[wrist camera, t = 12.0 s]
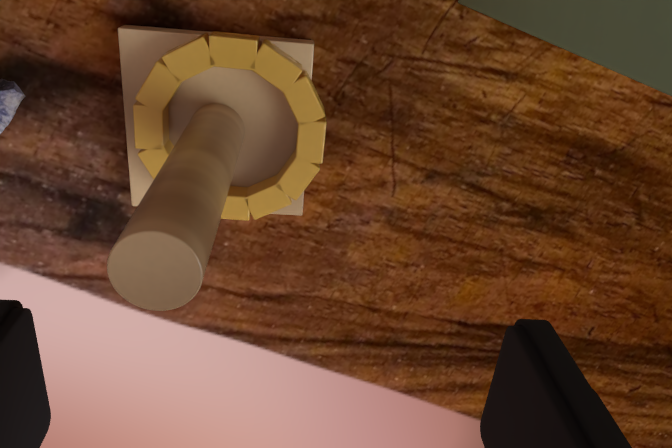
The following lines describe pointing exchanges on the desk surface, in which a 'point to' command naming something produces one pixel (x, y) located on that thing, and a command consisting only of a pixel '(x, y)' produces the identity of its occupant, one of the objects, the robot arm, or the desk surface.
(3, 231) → the desk surface
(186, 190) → the post
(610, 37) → the stand
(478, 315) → the desk surface
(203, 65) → the ring
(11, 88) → the seashell
